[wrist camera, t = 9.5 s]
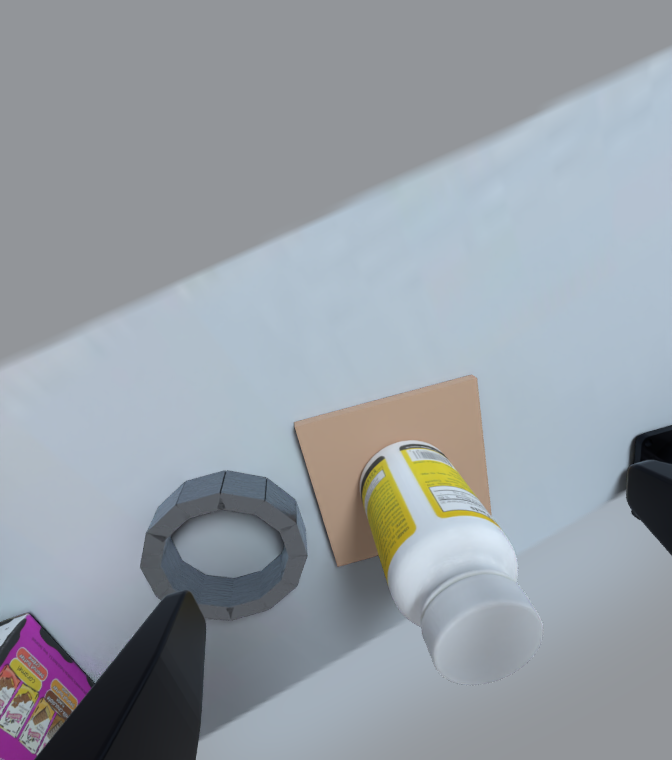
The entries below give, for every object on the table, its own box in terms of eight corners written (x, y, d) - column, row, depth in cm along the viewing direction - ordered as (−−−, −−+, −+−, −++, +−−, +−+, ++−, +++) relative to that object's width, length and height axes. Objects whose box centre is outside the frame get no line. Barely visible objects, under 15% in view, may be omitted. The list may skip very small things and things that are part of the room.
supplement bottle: (377, 531, 23) (437, 720, 14) (343, 460, 21) (387, 627, 12) (460, 495, 23) (576, 663, 14) (434, 422, 21) (548, 560, 12)
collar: (280, 455, 21) (280, 475, 19) (318, 567, 24) (321, 594, 22) (129, 496, 21) (114, 521, 19) (186, 604, 24) (178, 635, 22)
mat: (471, 374, 21) (476, 378, 21) (487, 516, 25) (492, 523, 24) (294, 422, 21) (294, 427, 20) (336, 559, 24) (337, 566, 24)
